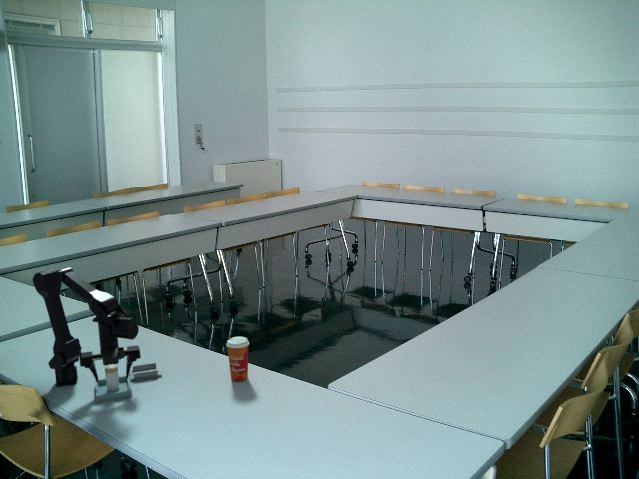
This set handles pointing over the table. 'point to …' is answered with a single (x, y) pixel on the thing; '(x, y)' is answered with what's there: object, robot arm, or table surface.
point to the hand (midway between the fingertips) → (112, 380)
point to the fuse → (112, 378)
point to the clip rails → (145, 371)
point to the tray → (106, 396)
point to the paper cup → (238, 358)
